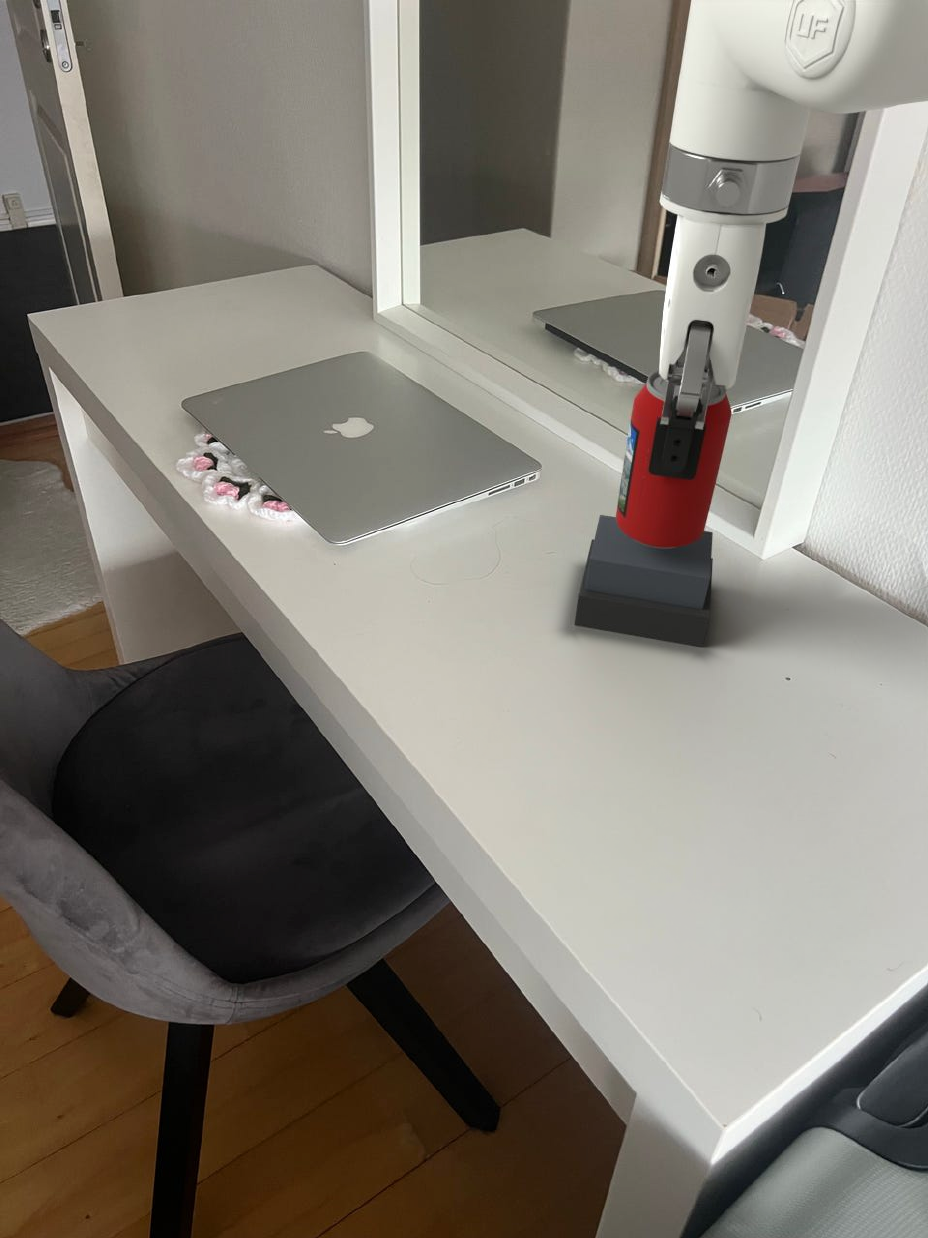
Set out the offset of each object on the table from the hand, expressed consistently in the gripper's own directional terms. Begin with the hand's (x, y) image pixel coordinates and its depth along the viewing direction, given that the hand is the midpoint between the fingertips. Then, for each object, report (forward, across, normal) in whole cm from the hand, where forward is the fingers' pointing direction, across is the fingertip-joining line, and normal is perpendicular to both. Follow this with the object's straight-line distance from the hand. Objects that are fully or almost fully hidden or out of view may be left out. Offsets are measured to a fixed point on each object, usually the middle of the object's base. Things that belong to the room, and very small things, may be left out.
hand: (674, 447), depth 65 cm
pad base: (+15, 0, 0) cm, 15 cm away
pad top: (+12, 0, 0) cm, 12 cm away
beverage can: (+7, 0, 0) cm, 7 cm away
